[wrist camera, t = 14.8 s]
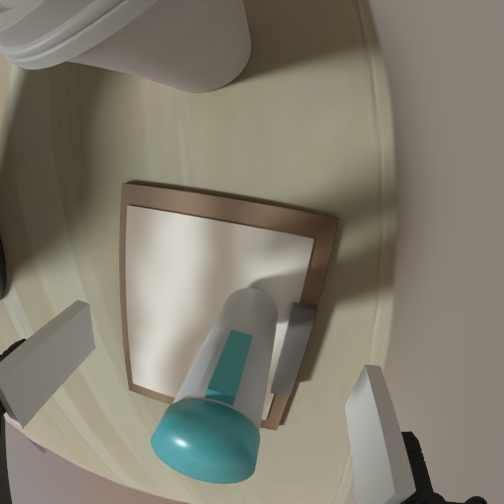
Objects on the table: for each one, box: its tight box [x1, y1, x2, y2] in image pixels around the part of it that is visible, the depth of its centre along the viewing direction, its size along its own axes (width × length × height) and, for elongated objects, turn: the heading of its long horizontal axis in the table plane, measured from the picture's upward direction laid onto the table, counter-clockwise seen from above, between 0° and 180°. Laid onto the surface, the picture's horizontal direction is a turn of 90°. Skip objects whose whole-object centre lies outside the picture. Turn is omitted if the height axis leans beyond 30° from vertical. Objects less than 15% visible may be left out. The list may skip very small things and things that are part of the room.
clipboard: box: [119, 183, 339, 430], centre depth 22 cm, size 15×20×2 cm
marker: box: [151, 288, 278, 484], centre depth 14 cm, size 4×4×13 cm
